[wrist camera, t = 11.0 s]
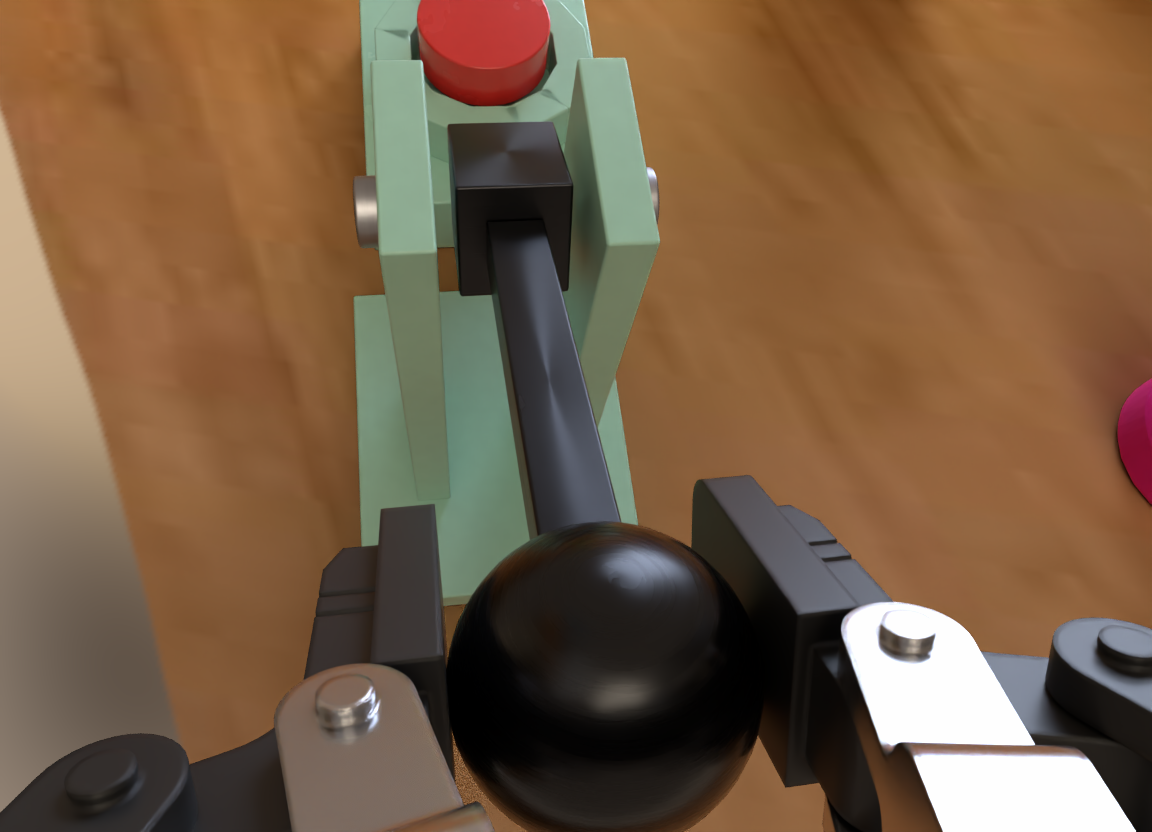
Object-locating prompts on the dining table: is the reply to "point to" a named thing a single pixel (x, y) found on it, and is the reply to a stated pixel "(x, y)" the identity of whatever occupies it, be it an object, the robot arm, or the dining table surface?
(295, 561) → the dining table surface
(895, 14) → the dining table surface
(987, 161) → the dining table surface
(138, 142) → the dining table surface
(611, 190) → the lever bracket
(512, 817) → the black ball lever
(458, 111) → the button housing
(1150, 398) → the pepper mill
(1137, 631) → the robot arm
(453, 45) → the button
